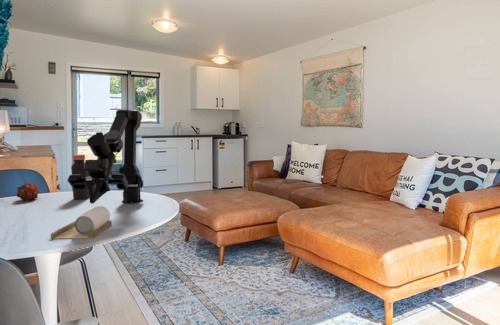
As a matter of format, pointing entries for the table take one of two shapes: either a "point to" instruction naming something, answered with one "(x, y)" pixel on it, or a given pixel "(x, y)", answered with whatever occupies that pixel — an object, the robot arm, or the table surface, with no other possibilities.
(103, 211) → the can
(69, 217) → the table surface
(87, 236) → the wooden tray
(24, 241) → the table surface
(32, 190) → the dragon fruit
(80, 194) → the bottle
